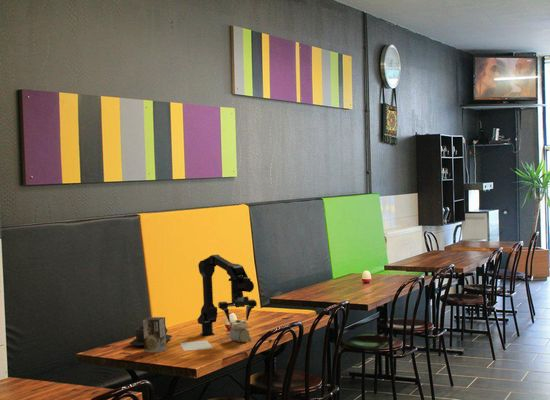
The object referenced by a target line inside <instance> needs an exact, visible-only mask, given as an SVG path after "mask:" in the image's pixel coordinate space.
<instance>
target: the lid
mask: <svg viewBox="0 0 550 400" xmlns="http://www.w3.org/2000/svg"><path fill="white" fill-rule="evenodd" d="M248 324H249V323H248V322H247V321H245V320H244V319H235V320H233V319H231V320H230V322H229V326H230V327H231V328H233V329H244V328H245V329H248V328H249V327H248Z"/></svg>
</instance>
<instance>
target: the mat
mask: <svg viewBox="0 0 550 400" xmlns="http://www.w3.org/2000/svg"><path fill="white" fill-rule="evenodd" d="M179 344H180V346H181V348H182V349H183V351H184V352H185V351H196V350H208V349H214V347H213V346H212V345H211V343H209V341H208V340H201V341H200V340H197V341H188V342H187V341H186V342H179Z"/></svg>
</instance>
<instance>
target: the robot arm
mask: <svg viewBox="0 0 550 400" xmlns="http://www.w3.org/2000/svg"><path fill="white" fill-rule="evenodd" d="M217 266H218V267H219V268H221V269H222V270H223V271H225V272H226V274H227V275H228V276H229V279H228V282H230V292H231V293H230V294H231V302H227V301H219V302H218V303H217V306H215V304H214V295H213V294H214V293H213V292H214V291H213V275H214V273H215V270H216V267H217ZM197 267H198V270H199V274H200V275H201V277H202V294H203V295H202V296H203V297H202V298H203V304H202V307H201V308H200V314H199V316H198V318H197V324H199V325H201V332H200V335H201V336H202V337H203V336H204V337H205V336H206V337H207V336H215V333H214V329H213V323H216V322H217V317H218V315H219V313H218V308H219V309H220V310H222V311H223V312H224V314H225V316H226V318H227V321H228V323H230V321H231V319H230V313H229V312H230V310H229V308H228V307H235V308H246V309H245V310H246V311H245V320H246V321H249V316H250V314H251V311H252V310H253V309H255V307H257V300H255V299H249V296H247V295H246V296H244V293H243V292H246V293H252V292H253V290H254V289H255V285H254V282H253V281H252V280H251V278H250V277H249V276H248V274H247V271H246V270H245V268H244V266H243V265H241V264H239V263H232V262H230V261H229V260H227V259H225V258H223V257H222V256H220V254H211V255H210V256H207V258H204V259H203V260H200V261H199V262H198V265H197Z"/></svg>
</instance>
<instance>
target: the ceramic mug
mask: <svg viewBox="0 0 550 400" xmlns="http://www.w3.org/2000/svg"><path fill="white" fill-rule="evenodd" d="M228 335H229V339H230V340H231V341H234V342H237V343H247V342H248V340H249V341H251V340H252V336H251V335H250V331H249V330H248V328H244V329H233V328H232V327H231V328H230V330H229V334H228Z"/></svg>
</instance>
